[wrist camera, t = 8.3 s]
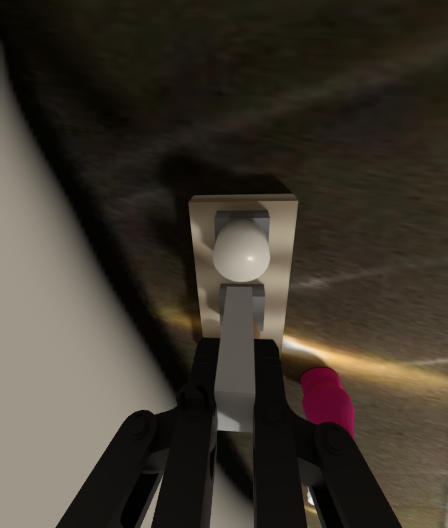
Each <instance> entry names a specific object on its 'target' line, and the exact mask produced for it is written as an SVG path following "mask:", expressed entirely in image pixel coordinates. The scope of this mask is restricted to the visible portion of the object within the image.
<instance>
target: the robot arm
mask: <svg viewBox="0 0 448 528" xmlns="http://www.w3.org/2000/svg"><path fill="white" fill-rule="evenodd" d="M176 401H177V405H178V406H177V407H175V408H174V409H171V410H169V411H166V412H162V413H159V414H155V415H154V414H153V413H152V412H150V411H148V410H140V411H137V412H134V413H133V414H131V415H130V416H128V418H127V419H126V420H125V421H124V422H123V424H122V425H121V427H120V428H119V430H118V432H117V433H116V434H115V436H114V438H113V439H112V441H111V442H110V444H109V445H108V447H107V448H106V450H105V452H104V453H103V455H102V456H101V458H100V460H99V461H98V462H97V464H96V466H95V467H94V469H93V470H92V472H91V473H90V475H89V476H88V478H87V480H86V481H85V483H84V484H83V486H82V487H81V489H80V491H79V492H78V494H77V495H76V497H75V498H74V500H73V501H72V503H71V504H70V506H69V508H68V509H67V511H66V512H65V514H64V515H63V517H62V518H61V520H60V522H59V523H58V525H57V526H56V528H140V527H141V524H142V522H143V520H144V517H145V514H146V513H147V510H148V508H149V506H150V504H151V501H152V499H153V496H154V494H155V492H156V490H157V487H158V485H159V483H160V481H161V478H162V476H163V479H162V483H161V488H160V492H159V496H158V500H157V505H156V508H155V513H154V517H153V521H152V525H151V528H210V516H211V506H212V495H213V484H214V473H215V462H216V450H217V443H216V437H217V428H218V430H226V431H240V432H253V458H252V459H253V489H254V528H307V522H306V515H305V509H304V502H303V495H302V488H301V481H303V482H305V483H307V486H308V489H309V491H310V494H311V497H312V500H313V503H314V506H315V508H316V511H317V514H318V517H319V520H320V523H321V525H322V528H402V526H401V524H400V523H399V521H398V519H397V517H396V515H395V514H394V512H393V510H392V508H391V506H390V505H389V503H388V501H387V499H386V497H385V496H384V494H383V492H382V490H381V488H380V486H379V485H378V483H377V481H376V479H375V477H374V476H373V474H372V472H371V470H370V468H369V467H368V465H367V463H366V461H365V459H364V458H363V456H362V454H361V452H360V450H359V448H358V447H357V445H356V443H355V441H354V439H353V438H352V437H351V435H350V434H349V433H348V431H347V430H346V429H344V428H343V427H342V426H341V425H339V424H336V423H334V422H323V423H320V424H318V425H317V424H314V423H312V422H310V421H307V420H305V419H303V418H301V417H299V416H298V415H296V414H295V413H294V412H293V411H292V410H291V408H290V407H289V405H288V403H287V400H286V396H285V389H284V382H283V375H282V368H281V361H280V354H279V348H278V346H277V344H276V343H275V341H274V340H273V339H254V332H253V300H252V287H227V291H226V299H225V307H224V315H223V323H222V331H221V338H209V337H203V338H202V339H201V341H200V342H199V343H198V345H197V348H196V353H195V357H194V362H193V366H192V370H191V375H190V379H189V383H188V384H186V385H184V386H183V387H182V388H181V389H180V390H179V392H178V394H177V396H176ZM163 474H164V475H163ZM300 480H301V481H300Z"/></svg>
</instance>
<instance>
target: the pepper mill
mask: <svg viewBox="0 0 448 528" xmlns="http://www.w3.org/2000/svg"><path fill="white" fill-rule="evenodd" d="M301 386H302V390H303V393H304V394H305V395H304V397H303V400H302V405H303V409H304V413H305V415H306V417H307V419H308V421H310V422H312V423H314V424H317V425H318V424H320V423H323V422H334V423H336V424H339V425H341V426H342V427H343V428H344V429H346V430H347V431H348V433H349V434H350V435H351V437H352V438H353V439H354V408H353V404H352V401H351V398H350V396H349V395H348V393H347V392H346V391H344V390H343V389H342V383H341V381H340V378H339V376H338V374H337V373H336V372H335V371H334V370H331V369H329V368H322V367H319V368H313V369H310V370H308V371H307V372H305V373H304V374H303V375H302V377H301ZM354 441H355V439H354Z"/></svg>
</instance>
